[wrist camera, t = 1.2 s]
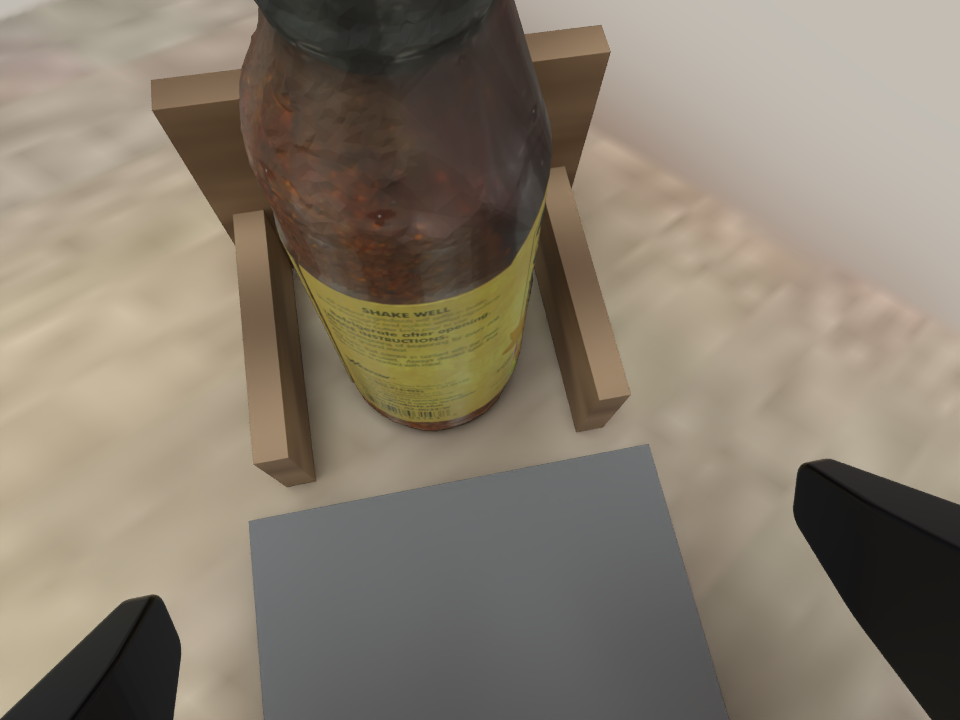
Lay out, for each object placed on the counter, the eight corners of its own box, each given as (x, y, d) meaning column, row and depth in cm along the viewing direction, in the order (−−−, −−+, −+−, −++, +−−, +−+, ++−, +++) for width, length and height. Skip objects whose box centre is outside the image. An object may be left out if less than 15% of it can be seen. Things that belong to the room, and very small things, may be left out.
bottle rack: (615, 424, 24) (705, 328, 15) (272, 489, 23) (163, 422, 14) (555, 204, 27) (601, 24, 18) (250, 251, 26) (151, 80, 17)
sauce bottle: (548, 376, 24) (857, -352, 6) (407, 471, 23) (208, -85, 4) (448, 248, 26) (437, -633, 7) (312, 329, 25) (-125, -509, 6)
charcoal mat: (735, 758, 20) (741, 760, 20) (279, 871, 19) (276, 876, 18) (645, 446, 24) (648, 443, 23) (251, 522, 22) (248, 521, 22)
